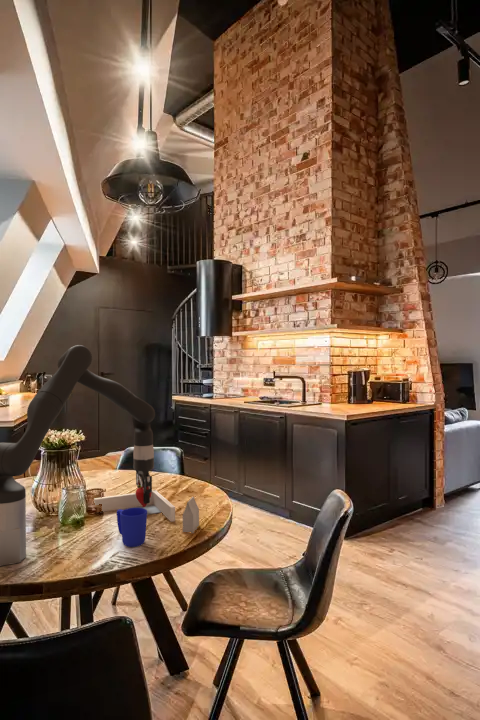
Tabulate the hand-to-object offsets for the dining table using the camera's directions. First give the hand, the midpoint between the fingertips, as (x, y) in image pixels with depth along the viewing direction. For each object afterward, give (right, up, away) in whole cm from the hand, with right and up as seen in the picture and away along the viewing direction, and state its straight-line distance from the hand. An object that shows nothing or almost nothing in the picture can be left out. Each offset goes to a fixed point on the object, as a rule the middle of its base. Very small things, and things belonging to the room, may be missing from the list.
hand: (143, 500), depth 176 cm
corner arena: (-3, -4, -6) cm, 7 cm away
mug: (+2, -4, -30) cm, 31 cm away
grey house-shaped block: (+20, -4, -19) cm, 28 cm away
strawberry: (0, -3, 0) cm, 3 cm away
